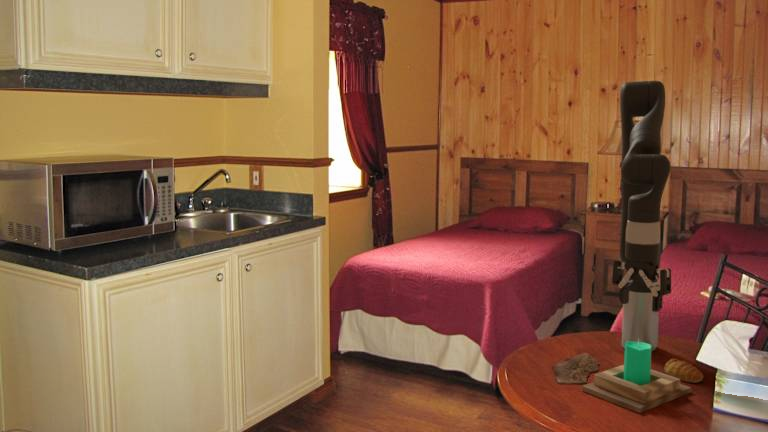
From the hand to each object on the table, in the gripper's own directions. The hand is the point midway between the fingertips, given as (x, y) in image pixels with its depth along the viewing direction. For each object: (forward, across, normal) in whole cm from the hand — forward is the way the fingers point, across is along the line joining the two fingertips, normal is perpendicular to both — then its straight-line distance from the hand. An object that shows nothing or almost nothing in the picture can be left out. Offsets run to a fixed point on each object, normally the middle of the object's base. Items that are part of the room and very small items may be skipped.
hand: (639, 307), depth 164 cm
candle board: (+21, 0, 0) cm, 21 cm away
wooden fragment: (+22, +19, -1) cm, 29 cm away
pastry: (+22, -1, -18) cm, 28 cm away
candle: (+20, 0, 0) cm, 20 cm away
